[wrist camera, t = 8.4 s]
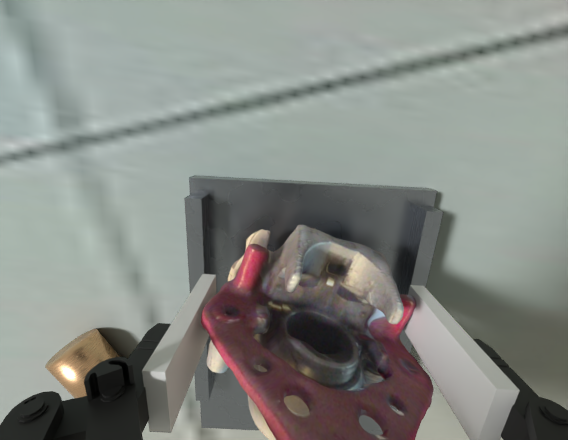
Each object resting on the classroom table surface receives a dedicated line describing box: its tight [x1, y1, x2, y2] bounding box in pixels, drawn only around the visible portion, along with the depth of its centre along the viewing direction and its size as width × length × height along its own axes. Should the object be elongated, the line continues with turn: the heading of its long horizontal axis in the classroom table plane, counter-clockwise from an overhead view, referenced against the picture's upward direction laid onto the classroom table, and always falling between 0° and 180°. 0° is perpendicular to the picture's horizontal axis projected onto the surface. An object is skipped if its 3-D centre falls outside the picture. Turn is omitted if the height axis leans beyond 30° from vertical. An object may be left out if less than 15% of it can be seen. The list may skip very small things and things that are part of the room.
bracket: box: [185, 176, 443, 435], centre depth 18 cm, size 22×16×7 cm
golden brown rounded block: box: [45, 329, 120, 398], centre depth 21 cm, size 6×4×4 cm, turn 27°
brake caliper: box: [201, 225, 434, 440], centre depth 14 cm, size 11×11×12 cm
